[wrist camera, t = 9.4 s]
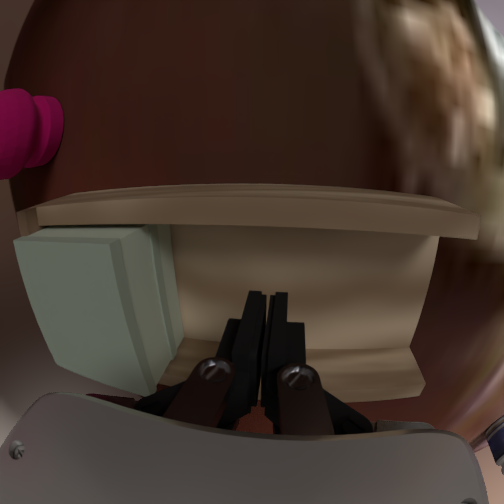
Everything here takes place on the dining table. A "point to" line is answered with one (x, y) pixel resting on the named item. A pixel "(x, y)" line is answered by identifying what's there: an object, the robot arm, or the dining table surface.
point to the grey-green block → (105, 300)
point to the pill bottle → (497, 441)
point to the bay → (292, 268)
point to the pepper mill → (28, 130)
